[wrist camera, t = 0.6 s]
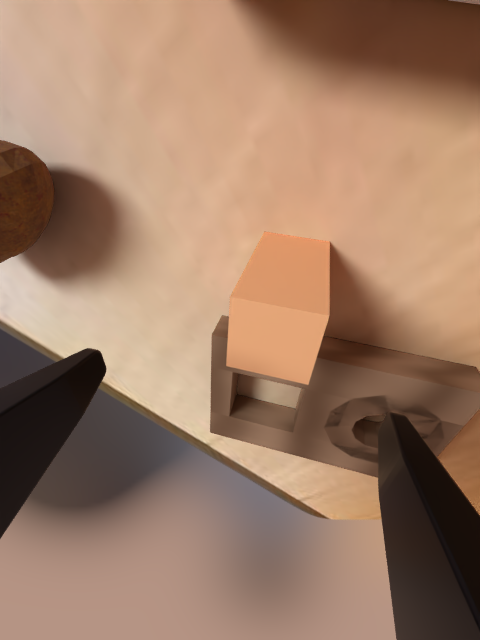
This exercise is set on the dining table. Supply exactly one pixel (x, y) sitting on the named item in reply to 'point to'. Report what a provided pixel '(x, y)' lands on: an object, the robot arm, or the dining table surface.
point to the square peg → (280, 308)
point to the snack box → (468, 1)
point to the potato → (22, 199)
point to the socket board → (346, 402)
